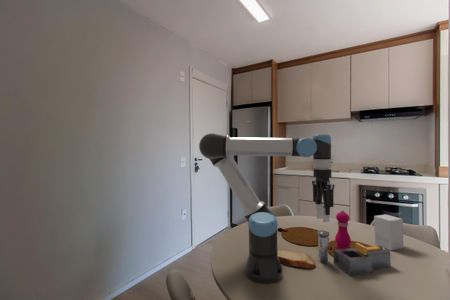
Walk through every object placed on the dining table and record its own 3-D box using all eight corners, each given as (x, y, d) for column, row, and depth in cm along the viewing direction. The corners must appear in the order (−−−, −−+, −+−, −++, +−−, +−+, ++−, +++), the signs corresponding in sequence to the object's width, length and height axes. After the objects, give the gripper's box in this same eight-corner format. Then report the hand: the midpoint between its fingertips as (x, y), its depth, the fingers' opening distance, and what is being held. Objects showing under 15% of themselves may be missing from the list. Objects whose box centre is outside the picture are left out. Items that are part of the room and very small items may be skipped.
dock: (350, 276, 89) (349, 258, 89) (333, 263, 99) (333, 247, 99) (395, 270, 93) (395, 253, 93) (375, 258, 102) (375, 243, 102)
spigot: (321, 264, 98) (321, 234, 98) (315, 258, 103) (314, 230, 103) (332, 263, 99) (331, 233, 99) (325, 257, 104) (324, 229, 104)
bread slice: (263, 256, 107) (263, 248, 107) (294, 250, 113) (294, 243, 113) (284, 276, 90) (284, 267, 90) (320, 268, 96) (320, 259, 96)
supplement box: (404, 248, 112) (403, 218, 112) (391, 251, 110) (390, 220, 110) (386, 241, 121) (386, 213, 121) (374, 243, 118) (373, 215, 118)
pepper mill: (334, 250, 111) (334, 210, 111) (335, 244, 118) (334, 206, 118) (351, 253, 108) (350, 212, 108) (351, 247, 114) (350, 208, 114)
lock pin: (364, 255, 93) (364, 247, 93) (355, 249, 98) (355, 243, 98) (383, 253, 94) (383, 245, 94) (373, 247, 99) (373, 241, 99)
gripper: (342, 170, 93) (343, 225, 93) (318, 166, 110) (319, 214, 110) (326, 170, 92) (327, 227, 92) (304, 167, 109) (305, 215, 109)
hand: (322, 219), depth 101 cm, fingers open, 4 cm apart
